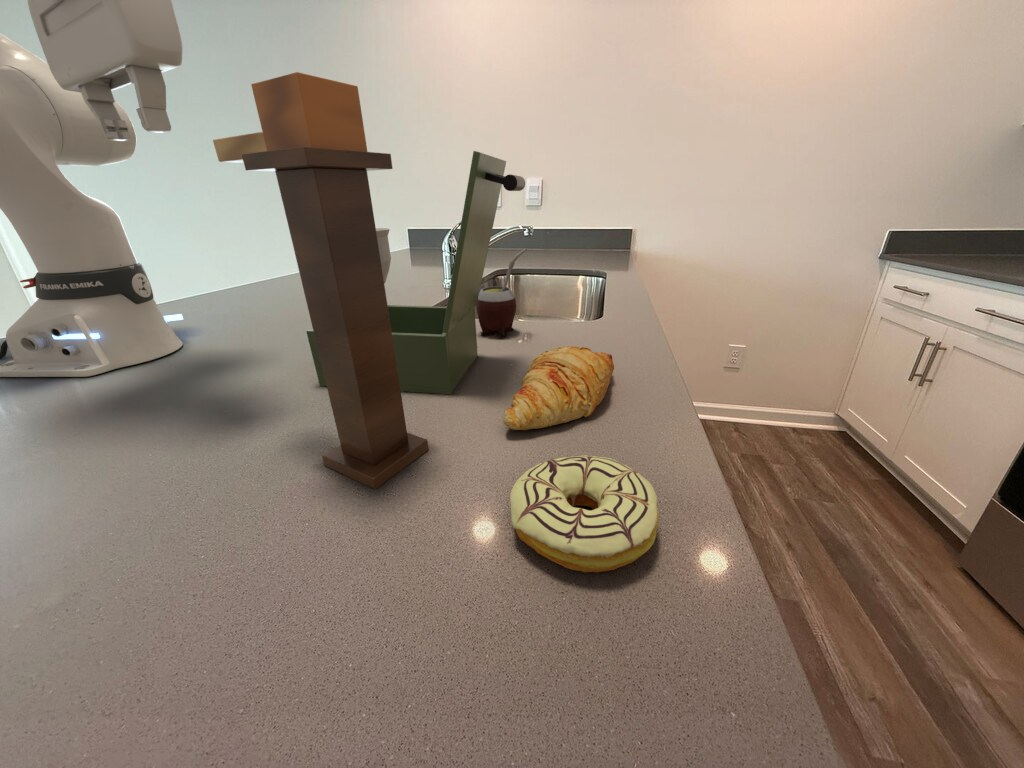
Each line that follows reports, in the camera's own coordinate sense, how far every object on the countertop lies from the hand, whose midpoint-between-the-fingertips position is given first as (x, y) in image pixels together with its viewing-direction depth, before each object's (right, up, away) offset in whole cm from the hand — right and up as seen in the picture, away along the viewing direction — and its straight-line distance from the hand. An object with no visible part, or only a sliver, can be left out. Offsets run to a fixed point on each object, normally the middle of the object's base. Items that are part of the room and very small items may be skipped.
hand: (137, 136), depth 41 cm
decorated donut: (+43, -36, -9) cm, 56 cm away
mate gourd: (+35, -16, +34) cm, 51 cm away
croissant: (+44, -27, +9) cm, 52 cm away
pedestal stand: (+24, -32, -1) cm, 40 cm away
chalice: (+14, -15, +35) cm, 41 cm away
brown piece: (+20, -8, -10) cm, 23 cm away
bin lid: (+33, -7, +10) cm, 35 cm away
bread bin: (+22, -23, +19) cm, 37 cm away
